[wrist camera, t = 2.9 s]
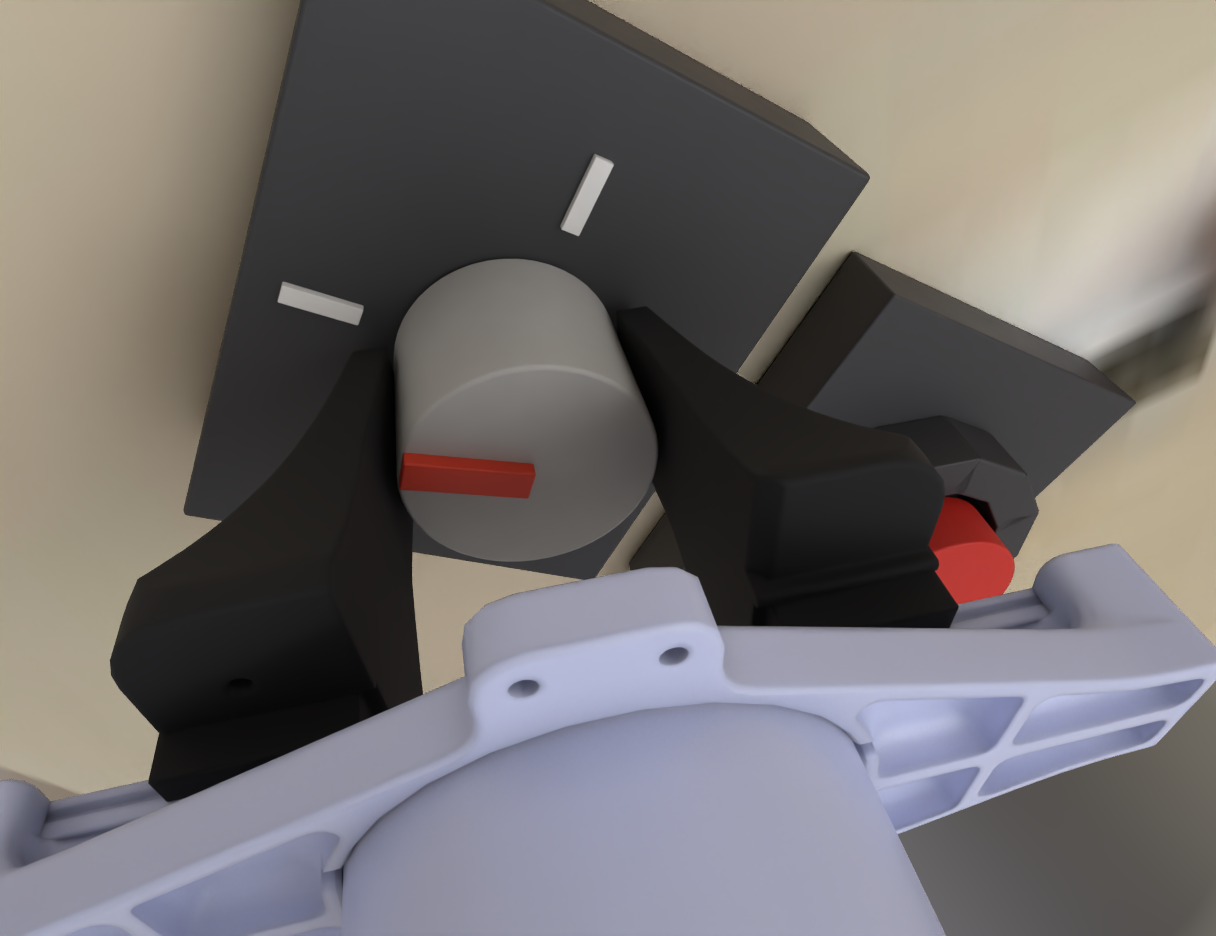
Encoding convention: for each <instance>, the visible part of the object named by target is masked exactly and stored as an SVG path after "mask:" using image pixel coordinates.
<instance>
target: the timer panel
mask: <svg viewBox="0 0 1216 936" xmlns="http://www.w3.org/2000/svg"><path fill="white" fill-rule="evenodd" d="M869 179H870V176H869V175H868V173H867V172H866V171H864V170H863V169H862V168H861V167H860V166H859V165H857V164H856V163H855V162H854V161H853V160H852V159H850V158H849V157H848V156H847V155H846V154H845V153H843V152H842V151H841V150H840V149H839V148H837V147H836V146H835V145H834V144H833V143H832V142H830V141H829V140H828V139H827V138H826V137H825V136H823V135H822V134H821V133H820V132H819V131H818V130H816V129H815V128H814V127H813V126H812V125H811V124H809V123H808V122H806V121H805V120H803V119H801V118H799V117H797V116H796V115H794V114H792V113H790V112H788V111H786V110H785V109H783V108H781V107H779V106H777V105H776V104H774V103H772V102H770V101H768V100H767V99H765V98H763V97H761V96H759V95H758V94H756V93H754V92H752V91H750V90H748V89H747V88H745V87H743V86H741V85H739V84H738V83H736V82H734V81H732V80H730V79H729V78H727V77H725V76H723V75H721V74H720V73H718V72H716V71H714V70H712V69H710V68H709V67H707V66H705V65H703V64H701V63H700V62H698V61H696V60H694V59H692V58H691V57H689V56H687V55H685V54H683V53H682V52H680V51H678V50H676V49H674V48H672V47H671V46H669V45H667V44H665V43H663V42H662V41H660V40H658V39H656V38H654V37H653V36H651V35H649V34H647V33H645V32H644V31H642V30H640V29H638V28H636V27H634V26H633V25H631V24H629V23H627V22H625V21H624V20H622V19H620V18H618V17H616V16H615V15H613V14H611V13H609V12H607V11H606V10H604V9H602V8H600V7H598V6H596V5H595V4H593V3H591V2H589V1H587V0H300V5H299V9H298V13H297V18H296V22H295V26H294V31H293V35H292V40H291V44H290V48H289V53H288V57H287V61H286V66H285V70H284V74H283V79H282V83H281V87H280V92H279V96H278V101H277V105H276V109H275V114H274V118H273V122H272V127H271V131H270V135H269V140H268V144H267V148H266V153H265V157H264V162H263V166H262V170H261V175H260V179H259V183H258V188H257V192H256V196H255V201H254V205H253V209H252V214H251V218H250V222H249V227H248V231H247V236H246V240H245V244H244V249H243V253H242V257H241V262H240V266H239V270H238V275H237V279H236V283H235V288H234V292H233V297H232V301H231V305H230V310H229V314H228V318H227V323H226V327H225V331H224V336H223V340H222V344H221V349H220V353H219V357H218V362H217V366H216V371H215V375H214V379H213V384H212V388H211V392H210V397H209V401H208V405H207V410H206V414H205V418H204V423H203V427H202V432H201V436H200V440H199V445H198V449H197V453H196V458H195V462H194V466H193V471H192V475H191V479H190V484H189V488H188V493H187V497H186V501H185V506H184V513H185V514H186V515H189V516H195V517H201V518H207V519H214V520H220V521H223V520H224V519H225V518H227V517H228V516H229V515H230V514H231V513H233V512H234V511H235V510H236V509H237V508H238V507H239V506H240V505H241V504H242V503H243V502H244V501H246V500H247V499H248V498H249V497H250V496H251V495H252V494H253V493H254V492H255V491H256V490H257V489H258V488H259V487H260V486H262V485H263V484H264V483H265V481H266V480H267V479H268V478H269V477H270V476H271V475H272V474H273V473H274V472H275V471H276V469H277V468H278V467H279V466H280V465H281V464H282V463H283V461H284V460H285V459H286V458H287V456H288V455H289V454H290V453H291V451H292V450H293V449H294V447H295V446H296V444H297V443H298V442H299V440H300V439H301V437H302V436H303V435H304V433H305V432H306V430H307V429H308V428H309V426H310V425H311V423H312V422H313V420H314V419H315V417H316V415H317V414H318V412H319V410H320V409H321V407H322V405H323V404H324V402H325V401H326V399H327V397H328V396H329V394H330V392H331V390H332V388H333V387H334V385H335V383H336V381H337V379H338V378H339V376H340V374H341V372H342V370H343V368H344V366H345V364H346V362H347V360H348V358H349V357H350V355H351V354H352V353H353V352H354V351H360V350H367V349H373V348H380V347H386V348H387V351H388V355H389V358H390V362H391V365H392V369H393V372H394V346H395V341H396V337H397V333H398V330H399V328H400V325H401V323H402V320H403V319H404V317H405V315H406V314H407V312H408V310H409V309H410V307H411V306H412V305H413V304H414V302H415V301H416V300H417V299H418V297H419V296H420V295H421V294H423V293H424V292H425V291H426V290H427V289H428V288H429V287H430V286H431V285H433V284H434V283H436V282H437V281H438V280H440V279H441V278H443V277H444V276H446V275H448V274H450V273H452V272H454V271H456V270H458V269H461V268H463V267H466V266H468V265H471V264H475V263H479V262H483V261H487V260H496V259H525V260H533V261H537V262H541V263H545V264H549V265H552V266H554V267H557V268H559V269H562V270H564V271H566V272H568V273H569V274H571V275H573V276H575V277H576V278H578V279H579V280H580V281H582V282H583V283H584V284H586V285H587V286H588V287H589V288H590V289H591V290H592V291H593V292H594V293H595V294H596V295H597V297H598V298H599V299H600V301H601V302H602V304H603V305H604V307H605V309H606V311H607V313H608V314H609V316H610V319H611V321H612V324H613V326H614V329H615V331H616V333H617V316H616V311H619V310H626V309H632V308H638V307H645V306H647V307H648V308H649V309H651V310H652V311H653V312H654V313H655V314H657V315H658V316H659V317H660V318H661V319H663V320H664V321H665V322H666V323H667V324H669V325H670V326H671V327H672V328H674V329H675V330H676V331H677V332H678V333H680V334H681V335H682V336H683V337H685V338H686V339H687V340H688V341H690V342H691V343H692V344H694V345H695V346H696V347H698V348H699V349H700V350H702V351H703V352H704V353H706V354H707V355H708V356H710V357H711V358H713V359H714V360H716V361H717V362H719V363H720V364H722V365H723V366H725V367H726V368H728V369H729V370H731V371H733V372H734V373H737V371H738V370H739V368H740V367H741V365H742V364H743V363H744V361H745V360H746V358H747V357H748V355H749V354H750V352H751V351H752V349H753V348H754V347H755V345H756V344H757V342H758V341H759V339H760V338H761V336H762V335H763V334H764V332H765V331H766V329H767V328H768V326H769V325H770V323H771V322H772V320H773V319H774V318H775V316H776V315H777V313H778V312H779V310H780V309H781V307H782V306H783V305H784V303H785V302H786V300H787V299H788V297H789V296H790V294H791V293H792V291H793V290H794V289H795V287H796V286H797V284H798V283H799V281H800V280H801V278H802V277H803V276H804V274H805V273H806V271H807V270H808V268H809V267H810V265H811V264H812V262H813V261H814V260H815V258H816V257H817V255H818V254H819V252H820V251H821V249H822V248H823V247H824V245H825V244H826V242H827V241H828V239H829V238H830V236H831V235H832V233H833V232H834V231H835V229H836V228H837V226H838V225H839V223H840V222H841V220H842V219H843V218H844V216H845V215H846V213H847V212H848V210H849V209H850V207H851V206H852V204H853V203H854V202H855V200H856V199H857V197H858V196H859V194H860V193H861V191H862V190H863V189H864V187H865V186H866V184H867V183H868V181H869ZM654 492H655V487H654V485H653V483H652V482H651V485H650V487H649V489H648V490H647V492H646V494H645V496H644V497H643V499H642V500H641V502H640V503H639V504H638V506H637V507H636V508H635V509H634V510H633V511H632V513H631V514H630V515H629V516H628V517H627V518H626V519H625V520H623V521H622V522H621V523H620V524H619V525H618V526H617V527H615V528H614V529H612V530H611V531H610V532H608V533H607V534H605V535H604V536H602V537H600V538H598V539H597V540H595V541H593V542H591V543H589V544H587V545H585V546H583V547H581V548H578V549H575V550H573V551H570V552H567V553H564V554H561V555H557V556H553V557H549V558H543V559H538V560H530V561H494V560H486V559H481V558H475V557H472V556H468V555H465V554H462V553H459V552H457V551H454V550H452V549H449V548H447V547H446V546H444V545H442V544H440V543H438V542H437V541H435V540H434V539H433V538H431V537H430V536H429V535H427V534H426V533H425V532H424V531H423V530H422V529H421V528H420V527H419V526H418V525H417V524H416V523H415V522H414V520H413V544H412V552H416V553H422V554H429V555H435V556H441V557H447V558H453V559H459V560H465V561H472V562H478V563H484V564H490V565H496V566H502V567H508V568H515V569H521V570H527V571H533V572H539V573H545V574H551V575H558V576H564V577H570V578H576V579H582V580H586V579H591V578H595V577H596V576H597V574H598V573H599V571H600V570H601V568H602V567H603V566H604V564H605V563H606V561H607V560H608V558H609V557H610V555H611V554H612V552H613V551H614V550H615V548H616V547H617V545H618V544H619V542H620V541H621V539H622V538H623V537H624V535H625V534H626V532H627V531H628V529H629V528H630V526H631V525H632V523H633V522H634V521H635V519H636V518H637V516H638V515H639V513H640V512H641V510H642V509H643V508H644V506H645V505H646V503H647V502H648V500H649V499H650V497H651V496H652V494H653V493H654Z"/></svg>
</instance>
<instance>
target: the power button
mask: <svg viewBox="0 0 1216 936" xmlns="http://www.w3.org/2000/svg"><path fill="white" fill-rule="evenodd" d="M929 547H930V548H931V550H932V551H933V553H934V554H935V555H936V557H937V558H938V560H939V568H938V570H935V572H936V574H937V575H938V576H939V578H940V579H941V581H942V582H943V584H944V585H945V587H946V588H947V590H948V591H949V593H950V594H951V596H952V597H953V598H954V600H955V601H956V603H957V604H961V603H966V602H971V601H975V600H980V599H984V598H989V597H994V596H998V595H1002V594H1003V593H1004V592H1005V590H1006V589H1007V587H1008V586H1009V584H1010V582H1011V580H1012V577H1013V574H1014V568H1015V564H1014V559H1013V556H1012V554H1011V552H1010V551H1009V550H1008V549H1007V547H1006V546H1005V545H1004V544H1003V542H1002V541H1001V540H1000V538H999V537H998V536H997V535H996V533H995V532H994V531H993V530H992V528H991V527H990V526H989V525H988V523H987V522H986V521H985V520H984V518H983V517H982V516H981V515H980V513H979V512H978V511H977V509H976V508H975V507H974V506H973V505H971V504H970V503H968V502H967V501H964V500H962V499H959V498H955V497H948V496H945V499H944V504H943V508H942V510H941V513H940V516H939V518H938V521H937V524H936V526H935V529H934V532H933V534H932V537H931V540H930V543H929Z"/></svg>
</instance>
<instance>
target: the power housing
mask: <svg viewBox="0 0 1216 936" xmlns="http://www.w3.org/2000/svg"><path fill="white" fill-rule="evenodd" d="M757 386H759V387H761V388H763V389H765V390H766V391H768V392H770V393H772V394H774V395H776V396H779V397H781V398H783V399H785V400H787V401H790V402H792V403H795V404H797V405H800V406H802V407H805V408H807V409H810V410H812V411H815V412H818V413H821V414H824V415H827V416H830V417H833V418H836V419H839V420H843V421H846V422H849V423H853V424H856V425H860V426H864V427H868V428H873V429H878V430H882V431H887V432H892V433H896V434H901V435H906V436H909V437H910V439H911V440H912V441H913V442H914V443H915V444H916V445H917V446H918V447H919V448H920V450H921V451H922V452H923V453H924V454H925V456H926V457H927V458H928V460H929V461H930V462H931V464H932V465H933V467H934V468H935V469H936V471H937V472H938V473H939V475H940V476H941V477H942V479H943V480H944V485H945V491H946V494H945V496H948V497H955V498H959V499H962V500H964V501H967V502H968V503H970V504H971V505H973V506H974V507H975V508H976V509H977V511H978V512H979V513H980V515H981V516H982V517H983V518H984V520H985V521H986V522H987V523H988V525H989V526H990V527H991V528H992V530H993V531H994V532H995V533H996V535H997V536H998V537H999V538H1000V540H1001V541H1002V542H1003V544H1004V545H1005V546H1006V547H1007V549H1008V550H1009V551H1010V552H1011V554H1012V556H1013V559H1014V557H1016V556H1017V555H1018V553H1019V551H1020V549H1021V547H1022V545H1023V543H1024V541H1025V539H1026V537H1027V535H1028V533H1029V531H1030V529H1031V527H1032V525H1033V523H1034V521H1035V519H1036V517H1037V515H1038V511H1039V510H1038V507H1037V503H1036V500H1035V497H1036V496H1037V495H1038V494H1039V493H1041V492H1042V491H1043V490H1044V489H1045V488H1046V487H1047V486H1048V485H1049V484H1050V483H1051V482H1052V481H1053V480H1054V479H1056V478H1057V477H1058V476H1059V475H1060V474H1061V473H1062V472H1063V471H1064V470H1065V469H1066V468H1067V467H1068V466H1069V465H1071V464H1072V463H1073V462H1074V461H1075V460H1076V459H1077V458H1078V457H1079V456H1080V455H1081V454H1082V453H1083V452H1084V451H1086V450H1087V449H1088V448H1089V447H1090V446H1091V445H1092V444H1093V443H1094V442H1095V441H1096V440H1097V439H1098V438H1099V437H1101V436H1102V435H1103V434H1104V433H1105V432H1106V431H1107V430H1108V429H1109V428H1110V427H1111V426H1112V425H1113V424H1114V423H1116V422H1117V421H1118V420H1119V419H1120V418H1121V417H1122V416H1123V415H1124V414H1125V413H1126V412H1127V411H1128V410H1129V409H1131V408H1132V407H1133V406H1134V405H1135V404H1136V402H1135V401H1134V400H1133V399H1132V398H1131V397H1130V396H1129V395H1127V394H1126V393H1125V392H1124V391H1123V390H1122V389H1120V388H1119V387H1118V386H1117V385H1116V384H1114V383H1113V382H1112V381H1111V380H1110V379H1109V378H1107V377H1106V376H1105V375H1104V374H1103V373H1102V372H1100V371H1099V370H1098V369H1097V368H1096V367H1095V366H1093V365H1092V364H1091V363H1090V362H1089V361H1088V360H1085V359H1083V358H1081V357H1079V356H1077V355H1075V354H1073V353H1071V352H1068V351H1066V350H1064V349H1062V348H1060V347H1058V346H1056V345H1053V344H1051V343H1049V342H1047V341H1045V340H1043V339H1041V338H1038V337H1036V336H1034V335H1032V334H1030V333H1028V332H1026V331H1023V330H1021V329H1019V328H1017V327H1015V326H1013V325H1011V324H1009V323H1006V322H1004V321H1002V320H1000V319H998V318H996V317H994V316H991V315H989V314H987V313H985V312H983V311H981V310H979V309H976V308H974V307H972V306H970V305H968V304H966V303H964V302H962V301H959V300H957V299H955V298H953V297H951V296H949V295H947V294H944V293H942V292H940V291H938V290H936V289H934V288H932V287H929V286H927V285H925V284H923V283H921V282H919V281H917V280H915V279H912V278H910V277H908V276H906V275H904V274H902V273H900V272H897V271H895V270H893V269H891V268H889V267H887V266H885V265H882V264H880V263H878V262H876V261H874V260H872V259H870V258H867V257H865V256H863V255H861V254H859V253H857V252H852V253H851V255H850V256H849V257H848V259H847V260H846V261H845V263H844V264H843V266H842V267H841V268H840V270H839V271H838V273H837V274H836V275H835V277H834V278H833V280H832V281H831V282H830V284H829V285H828V287H827V288H826V289H825V291H824V292H823V294H822V295H821V296H820V298H819V299H818V301H817V302H816V303H815V305H814V306H813V308H812V309H811V310H810V312H809V313H808V315H807V316H806V317H805V319H804V320H803V322H802V323H801V324H800V326H799V327H798V329H797V330H796V331H795V333H794V334H793V336H792V337H791V338H790V340H789V341H788V343H787V344H786V345H785V347H784V348H783V350H782V351H781V352H780V354H779V355H778V357H777V358H776V359H775V361H774V362H773V363H772V365H771V366H770V368H769V369H768V370H767V372H766V373H765V375H764V376H763V377H762V379H761V380H760V382H759V383H758V384H757ZM629 567H630V570H636V569H641V568H646V567H677V568H680V569H682V570H684V571H686V570H685V567H684V564H683V561H682V558H681V554H680V551H679V548H678V545H677V542H676V538H675V535H674V532H673V530H672V527H671V524H670V522H669V519H668V517H667V514H666V513H665V514H664V516H663V517H662V519H661V520H660V521H659V523H658V524H657V526H656V527H655V528H654V530H653V531H652V533H651V534H650V535H649V537H648V538H647V540H646V541H645V542H644V544H643V545H642V547H641V548H640V549H639V551H638V552H637V554H636V555H635V556H634V558H633V559H632V561H631V562H630V563H629Z"/></svg>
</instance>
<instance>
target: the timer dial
mask: <svg viewBox="0 0 1216 936" xmlns="http://www.w3.org/2000/svg"><path fill="white" fill-rule="evenodd" d="M394 391H395V430H396V468H397V483H398V490H399V493H400V496H401V500H402V502H403V504H404V506H405V508H406V510H407V512H408V513H409V515H410V516H411V517H412V519H413V520H414V522H415V523H416V524H417V525H418V526H419V527H420V528H421V529H422V530H423V531H424V532H425V533H426V534H427V535H429V536H430V537H431V538H433V539H434V540H435V541H437V542H438V543H440V544H442V545H444V546H446V547H447V548H449V549H452V550H454V551H457V552H459V553H462V554H465V555H468V556H472V557H475V558H481V559H486V560H494V561H530V560H538V559H543V558H549V557H553V556H557V555H561V554H564V553H567V552H570V551H573V550H575V549H578V548H581V547H583V546H585V545H587V544H589V543H591V542H593V541H595V540H597V539H598V538H600V537H602V536H604V535H605V534H607V533H608V532H610V531H611V530H612V529H614V528H615V527H617V526H618V525H619V524H620V523H621V522H622V521H623V520H625V519H626V518H627V517H628V516H629V515H630V514H631V513H632V511H633V510H634V509H635V508H636V507H637V506H638V504H639V503H640V502H641V500H642V499H643V497H644V496H645V494H646V492H647V490H648V489H649V487H650V485H651V482H652V480H653V477H654V474H655V470H656V465H657V460H658V439H657V433H656V430H655V427H654V424H653V421H652V418H651V416H650V413H649V411H648V409H647V406H646V404H645V401H644V399H643V396H642V394H641V392H640V389H639V387H638V384H637V382H636V379H635V377H634V375H633V372H632V370H631V367H630V365H629V362H628V360H627V358H626V355H625V353H624V350H623V348H622V346H621V343H620V341H619V338H618V336H617V333H616V331H615V329H614V326H613V324H612V321H611V319H610V316H609V314H608V313H607V311H606V309H605V307H604V305H603V304H602V302H601V301H600V299H599V298H598V297H597V295H596V294H595V293H594V292H593V291H592V290H591V289H590V288H589V287H588V286H587V285H586V284H584V283H583V282H582V281H580V280H579V279H578V278H576V277H575V276H573V275H571V274H569V273H568V272H566V271H564V270H562V269H559V268H557V267H554V266H552V265H549V264H545V263H541V262H537V261H533V260H525V259H496V260H487V261H483V262H479V263H475V264H471V265H468V266H466V267H463V268H461V269H458V270H456V271H454V272H452V273H450V274H448V275H446V276H444V277H443V278H441V279H440V280H438V281H437V282H436V283H434V284H433V285H431V286H430V287H429V288H428V289H427V290H426V291H425V292H424V293H423V294H421V295H420V296H419V297H418V299H417V300H416V301H415V302H414V304H413V305H412V306H411V307H410V309H409V310H408V312H407V314H406V315H405V317H404V319H403V320H402V323H401V325H400V328H399V330H398V333H397V337H396V341H395V346H394Z"/></svg>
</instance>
